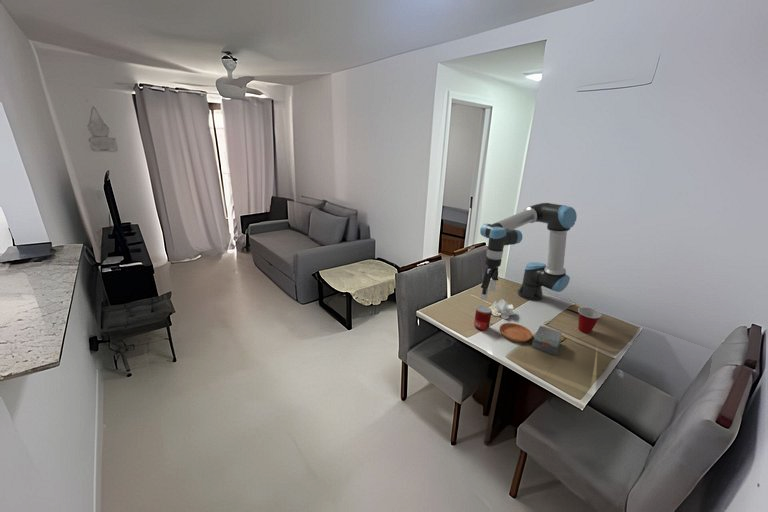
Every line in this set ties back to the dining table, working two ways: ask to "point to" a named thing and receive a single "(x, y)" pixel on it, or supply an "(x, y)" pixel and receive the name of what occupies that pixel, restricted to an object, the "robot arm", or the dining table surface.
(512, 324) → the saucer
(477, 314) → the canned food
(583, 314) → the plastic cup
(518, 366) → the dining table surface
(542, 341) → the stand
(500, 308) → the lotus flower
